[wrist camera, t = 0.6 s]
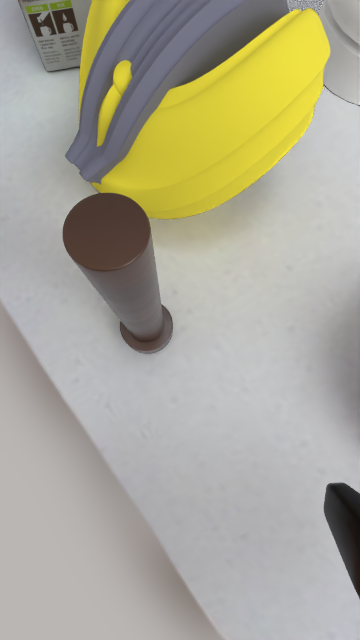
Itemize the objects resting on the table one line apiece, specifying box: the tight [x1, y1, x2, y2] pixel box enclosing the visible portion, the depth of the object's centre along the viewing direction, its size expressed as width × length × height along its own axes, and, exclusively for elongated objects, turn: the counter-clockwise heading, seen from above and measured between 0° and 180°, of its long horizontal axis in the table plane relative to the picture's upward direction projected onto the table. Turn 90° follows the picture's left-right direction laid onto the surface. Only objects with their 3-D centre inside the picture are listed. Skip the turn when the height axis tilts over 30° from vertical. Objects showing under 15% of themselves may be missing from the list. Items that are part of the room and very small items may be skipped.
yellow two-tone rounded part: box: [65, 0, 330, 219], centre depth 20 cm, size 15×19×14 cm
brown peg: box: [63, 193, 173, 354], centre depth 15 cm, size 4×4×14 cm
